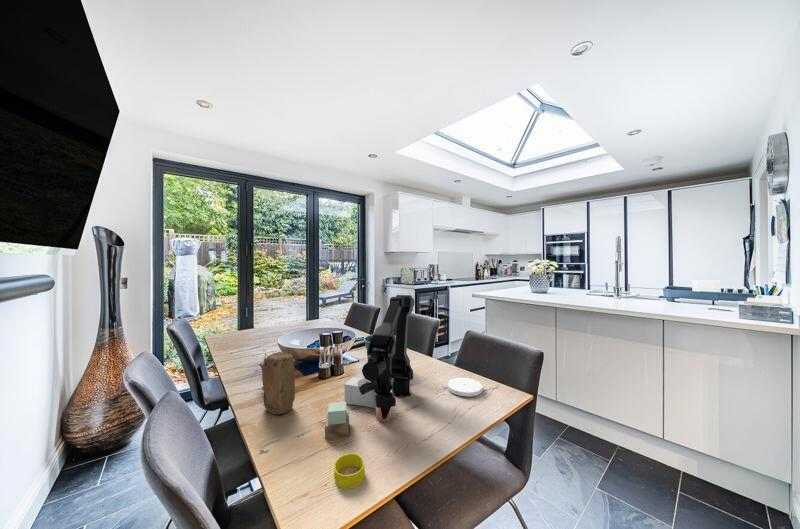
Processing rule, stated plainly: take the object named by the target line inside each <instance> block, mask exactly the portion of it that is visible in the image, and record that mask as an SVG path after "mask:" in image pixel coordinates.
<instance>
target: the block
mask: <svg viewBox="0 0 800 529" xmlns="http://www.w3.org/2000/svg"><path fill="white" fill-rule="evenodd" d="M265 358H266V359H265ZM265 358H264V359H265V361H264V360H263V361H264V363H263V368H261V374H262V376H261V378H262V387H263V389H262V390H263V406H264V408H265V409H266V410H267V411H268V412H269V413H271V414H272V415H277V416H278V415H283V414H287V413H288V412H291V409H292V408H293V405H294V401H295V399H296V396H295V395H296V383H295V382H296V381H295V363H294V356H293V355H292V354H290V353H287V352H282V351H278V352H274V353H271V354H270V355H267V356H266V357H265Z"/></svg>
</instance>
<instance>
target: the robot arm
mask: <svg viewBox="0 0 800 529" xmlns="http://www.w3.org/2000/svg"><path fill="white" fill-rule="evenodd" d="M389 298H390V299H389V304H388V308H387V310H386V311H385V315H384V317H383V319H382V323H381V324H380V325H379V326H378V327H376V328H375V330H374V331H373V333H372V334H371V335H372V336H371V340H370V344H369V347H368V351H367V350H366V356H367V355H371V357H370V358H368V359H367V362H366V363H365V364H363V366H362V369H361V373H362V376H363V379H361V380H359V381H358V387H359V390H360V392H361V395H364V394H365V393H367V392H370V391H371V390H373V389H374V392H375V393H376V394H377V395H376V396H375V402H376V407H377V408H381V413H382V418H383V419H386V418H387V415H388V413H389V411H390V409H391V410H392V407H396V406H397V399H396V397H397V398H398V397H409V396H411V395H412V394H411V386H410V385H411V384H410V383H411V380H413V379H414V369H413V368H412V365H411V360H410V357H409V356H408V353H407V350H408V332H409V317H410V315H411V314H412V313H413V310H414V306H415V302H416V301H415V298H414V297H413V296H412V295H411V294H408V295H407V294H396V296H391V297H389ZM395 328H396V330H395ZM394 331H396V332H395V333H394ZM394 335H395V336H396V341H395V336H394ZM395 342H396V343H395ZM394 346H395V354H394V355H393V356H392V357H391V354H392V353H393V350H394ZM373 348H374V349H381V350H373ZM392 379H393V380H392ZM376 407H375V408H376Z"/></svg>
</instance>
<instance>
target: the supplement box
mask: <svg viewBox="0 0 800 529" xmlns="http://www.w3.org/2000/svg"><path fill="white" fill-rule="evenodd" d="M361 379H364V377H363V378H362V377H361V378H360V377H354V376H353V377H352V378H351V379H349V380H348V381H347V382H346V383H344V387H343V388H344V391H343V392H344V402H346V404H349V405H356V406H360V407H367V408H373V409H376V402H375V396H376V395H377V394H376V393H375V392H374V389H373V390H371V391H370V392H367V393H365V394H364V395H361V392H360V390H359V387H358V381H359V380H361Z"/></svg>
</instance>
